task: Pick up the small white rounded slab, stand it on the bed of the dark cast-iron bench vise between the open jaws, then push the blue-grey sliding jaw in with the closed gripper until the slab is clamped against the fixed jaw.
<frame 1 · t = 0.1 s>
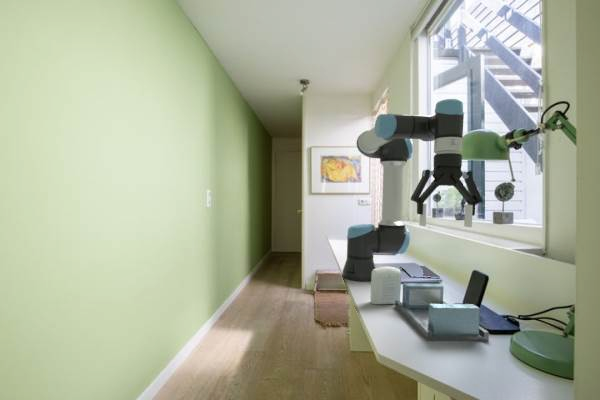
hand: (445, 226, 94), 28 cm above the table, fingers open, 13 cm apart
vise: (436, 321, 93), on the table
notebook: (418, 273, 154), on the table
sliding jaw: (422, 295, 103), point 5 cm above the table, slide at 0.0 cm
white rounded slab: (385, 303, 109), on the table
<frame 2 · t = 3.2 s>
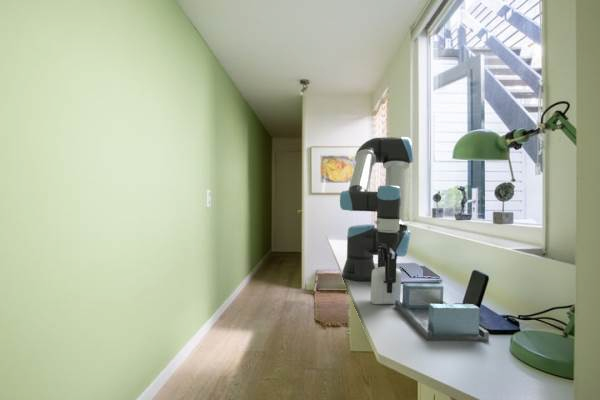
hand: (385, 299, 109), 1 cm above the table, fingers closed on white rounded slab, 5 cm apart
white rounded slab: (385, 303, 109), on the table, touching gripper
everything else where it was.
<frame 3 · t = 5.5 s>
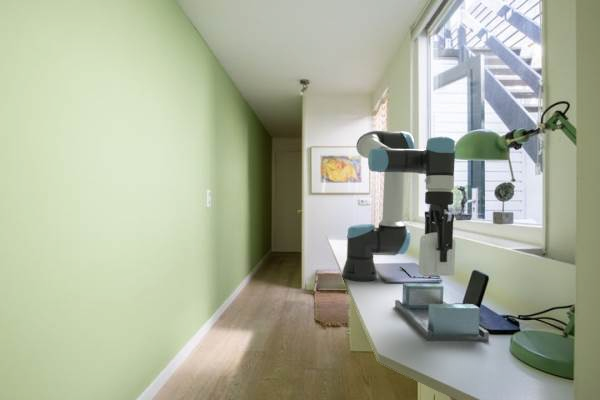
hand: (436, 270, 93), 15 cm above the table, fingers closed on white rounded slab, 5 cm apart
white rounded slab: (436, 275, 93), point 14 cm above the table, touching gripper
everything else where it was.
when the fingers open (3 cm above the table, at t = 8.2 s): white rounded slab stays where it is, resting on vise.
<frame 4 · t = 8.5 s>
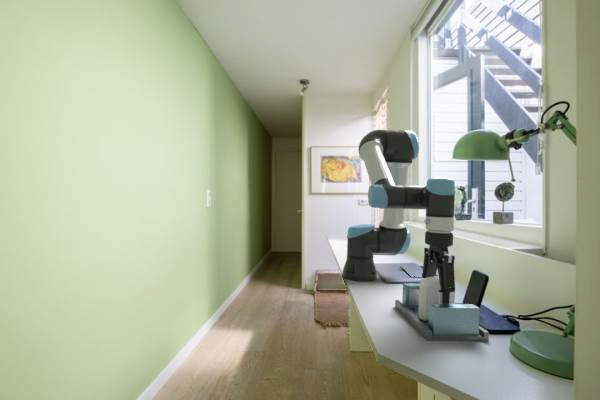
hand: (436, 309, 93), 4 cm above the table, fingers open, 8 cm apart
white rounded slab: (436, 319, 93), point 1 cm above the table, touching vise
everything else where it was.
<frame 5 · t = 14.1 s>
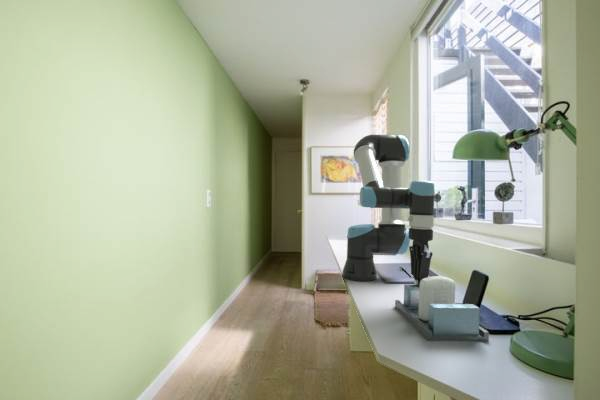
hand: (418, 298, 106), 3 cm above the table, fingers closed
sliding jaw: (424, 296, 102), point 5 cm above the table, slide at 1.2 cm, touching gripper
everything else where it was.
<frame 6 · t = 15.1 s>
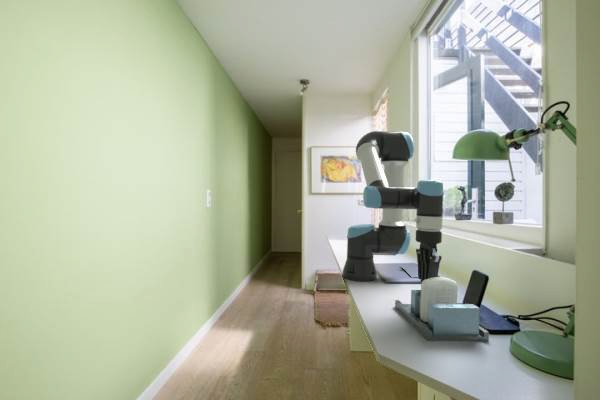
hand: (426, 304, 100), 3 cm above the table, fingers closed
sliding jaw: (432, 303, 96), point 5 cm above the table, slide at 7.0 cm, touching gripper, white rounded slab
white rounded slab: (437, 320, 92), point 1 cm above the table, touching sliding jaw, vise
everything else where it was.
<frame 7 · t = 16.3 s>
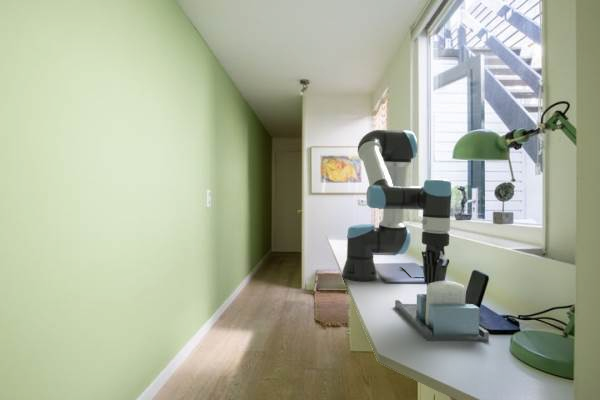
hand: (432, 309, 96), 3 cm above the table, fingers closed
sliding jaw: (439, 308, 92), point 5 cm above the table, slide at 11.1 cm, touching gripper, white rounded slab
white rounded slab: (444, 326, 88), point 1 cm above the table, touching sliding jaw, vise
everything else where it was.
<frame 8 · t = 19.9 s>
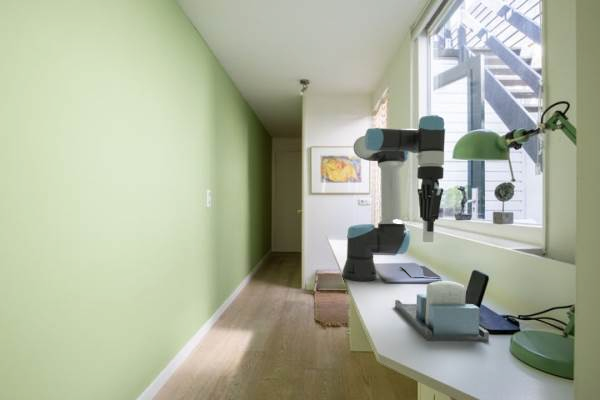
hand: (427, 241, 100), 22 cm above the table, fingers closed
sliding jaw: (439, 308, 92), point 5 cm above the table, slide at 11.1 cm
white rounded slab: (444, 326, 88), point 1 cm above the table, touching vise
everything else where it was.
at the end: sliding jaw slide at 11.1 cm; white rounded slab inside the target area (0.3 cm from its centre), point 0.8 cm above the table; white rounded slab tilted 0° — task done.
